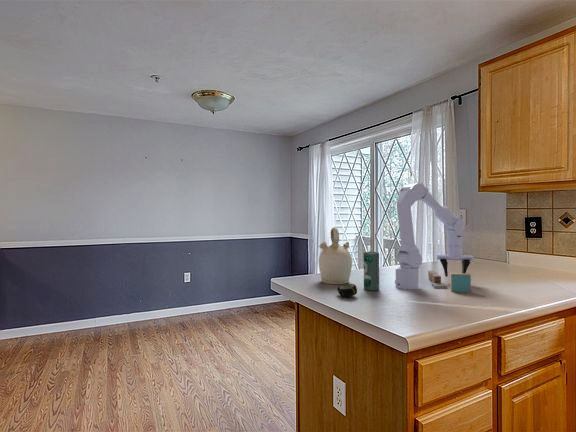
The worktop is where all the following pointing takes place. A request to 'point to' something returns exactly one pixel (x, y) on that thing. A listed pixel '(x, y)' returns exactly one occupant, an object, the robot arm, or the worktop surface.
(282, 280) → the worktop surface
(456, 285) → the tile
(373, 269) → the can
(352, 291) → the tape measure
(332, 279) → the jug
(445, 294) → the worktop surface
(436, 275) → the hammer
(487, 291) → the worktop surface
